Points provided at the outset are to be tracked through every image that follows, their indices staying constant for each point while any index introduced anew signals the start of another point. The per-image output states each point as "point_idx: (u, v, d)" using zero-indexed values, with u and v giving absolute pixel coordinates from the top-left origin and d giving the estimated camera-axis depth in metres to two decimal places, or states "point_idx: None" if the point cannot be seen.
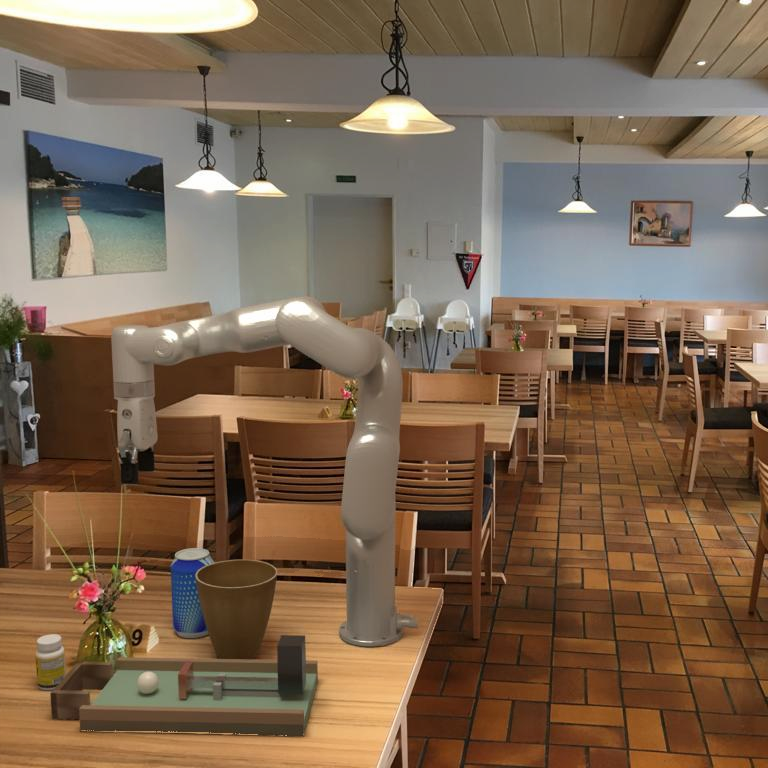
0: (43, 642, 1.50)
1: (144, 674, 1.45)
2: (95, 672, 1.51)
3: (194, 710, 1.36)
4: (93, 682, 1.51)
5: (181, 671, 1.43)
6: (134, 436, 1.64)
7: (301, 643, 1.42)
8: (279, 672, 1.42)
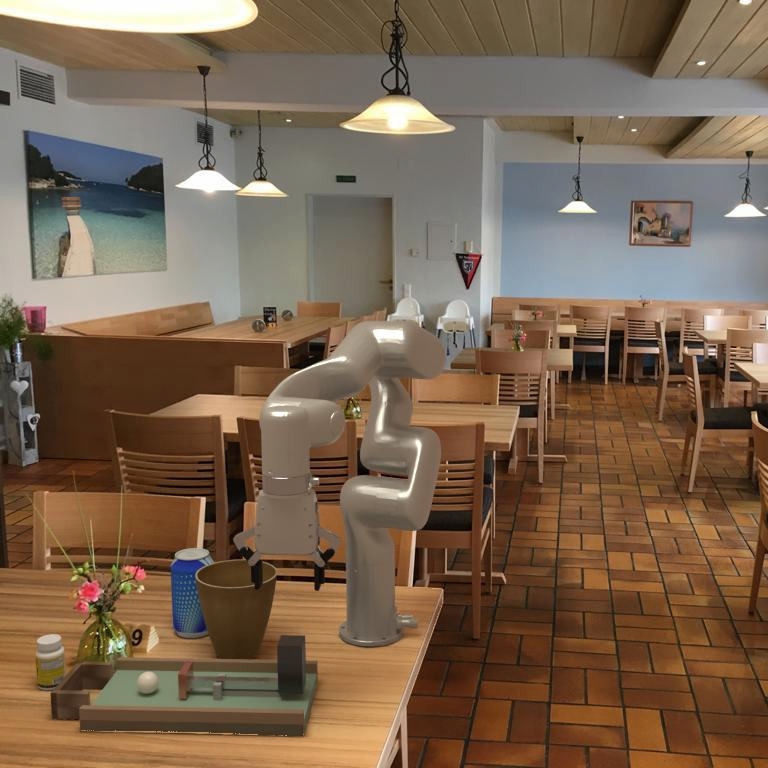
0: (43, 642, 1.50)
1: (144, 674, 1.45)
2: (95, 672, 1.51)
3: (194, 710, 1.36)
4: (93, 682, 1.51)
5: (181, 671, 1.43)
6: None
7: (301, 643, 1.42)
8: (279, 672, 1.42)
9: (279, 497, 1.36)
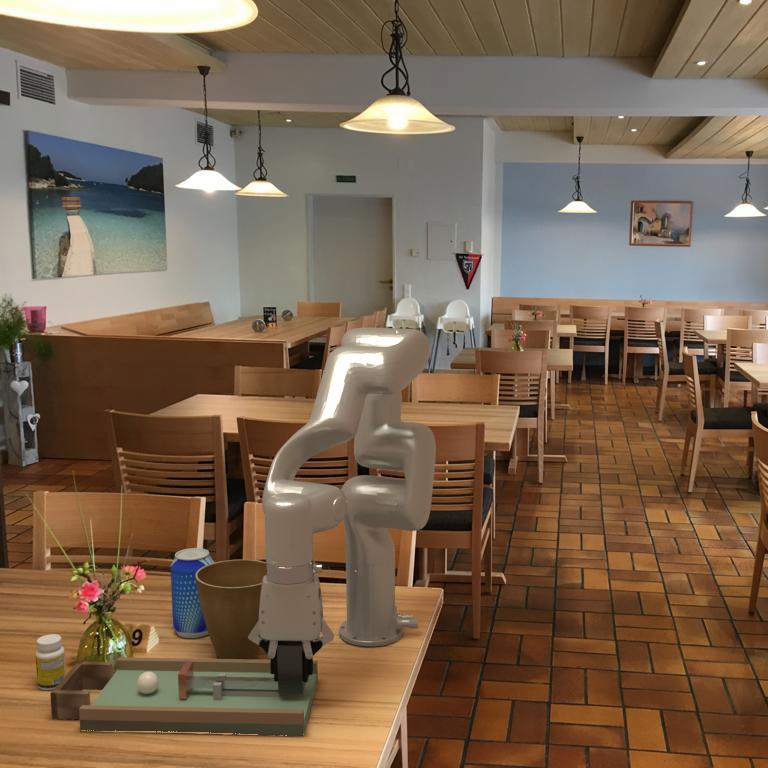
0: (43, 642, 1.50)
1: (144, 674, 1.45)
2: (95, 672, 1.51)
3: (194, 710, 1.36)
4: (93, 682, 1.51)
5: (181, 671, 1.43)
6: None
7: (301, 643, 1.42)
8: (279, 672, 1.42)
9: (283, 586, 1.38)
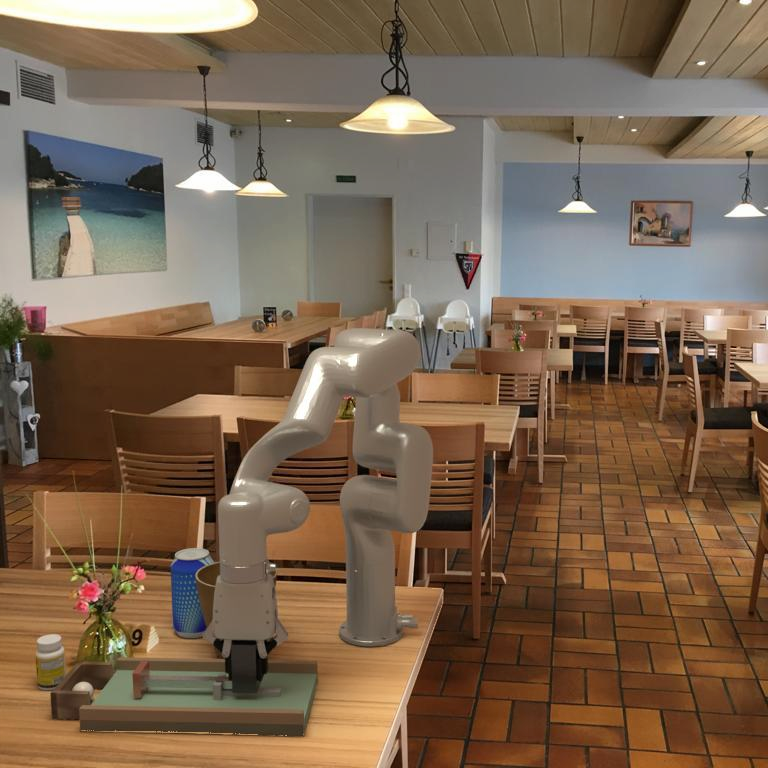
0: (43, 642, 1.50)
1: (77, 685, 1.46)
2: (95, 672, 1.51)
3: (194, 710, 1.36)
4: (93, 682, 1.51)
5: (136, 670, 1.44)
6: (277, 614, 1.44)
7: (255, 642, 1.42)
8: (233, 671, 1.42)
9: (236, 585, 1.38)
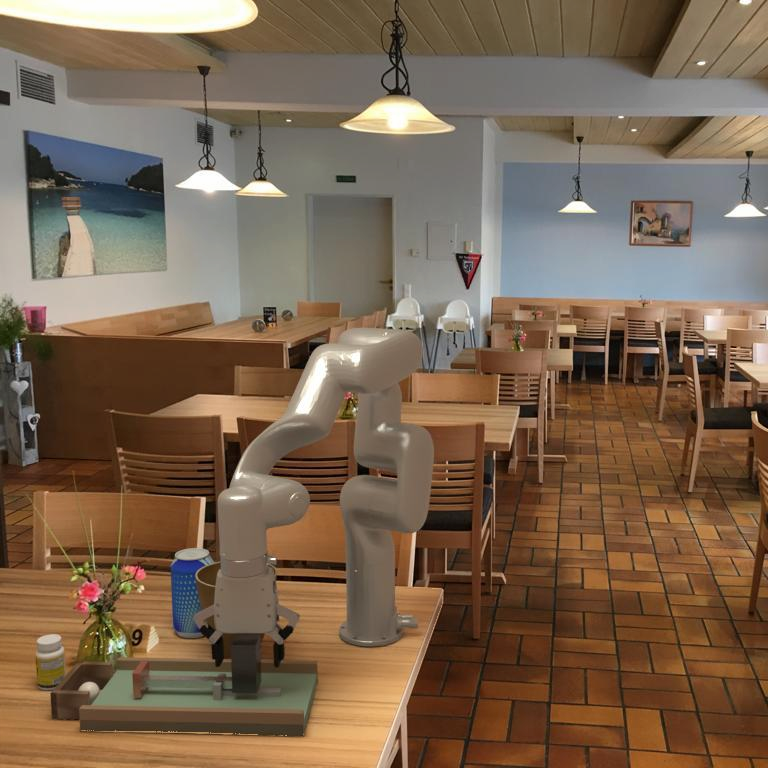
0: (43, 642, 1.50)
1: (88, 684, 1.46)
2: (95, 672, 1.51)
3: (194, 710, 1.36)
4: (93, 682, 1.51)
5: (136, 670, 1.44)
6: None
7: (255, 642, 1.42)
8: (233, 671, 1.42)
9: (237, 579, 1.38)
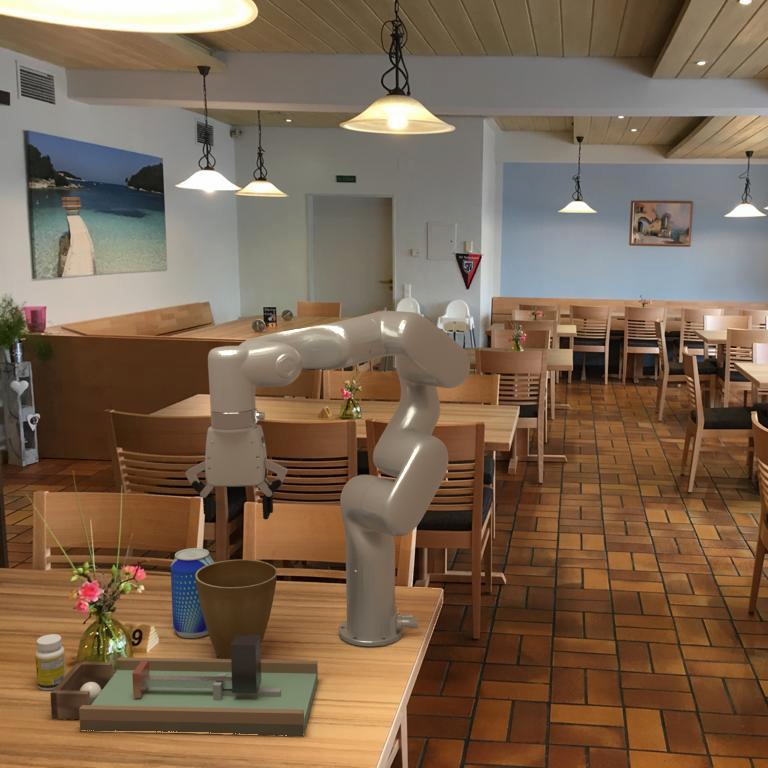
0: (43, 642, 1.50)
1: (92, 685, 1.45)
2: (95, 672, 1.51)
3: (194, 710, 1.36)
4: None
5: (136, 670, 1.44)
6: None
7: (255, 642, 1.42)
8: (233, 671, 1.42)
9: (227, 431, 1.45)
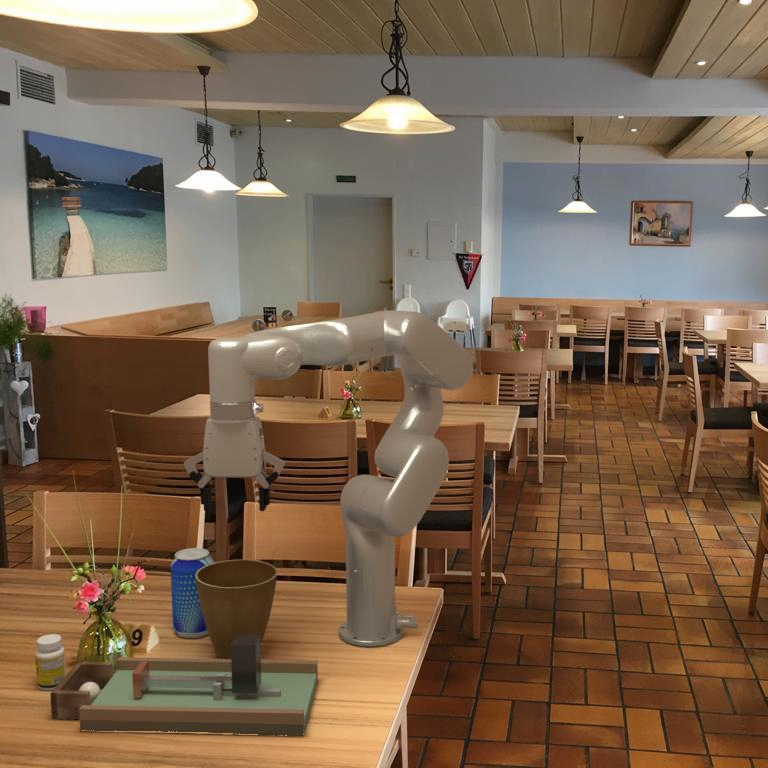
0: (43, 642, 1.50)
1: (90, 684, 1.45)
2: (95, 672, 1.51)
3: (194, 710, 1.36)
4: None
5: (136, 670, 1.44)
6: None
7: (255, 642, 1.42)
8: (233, 671, 1.42)
9: (225, 421, 1.46)
